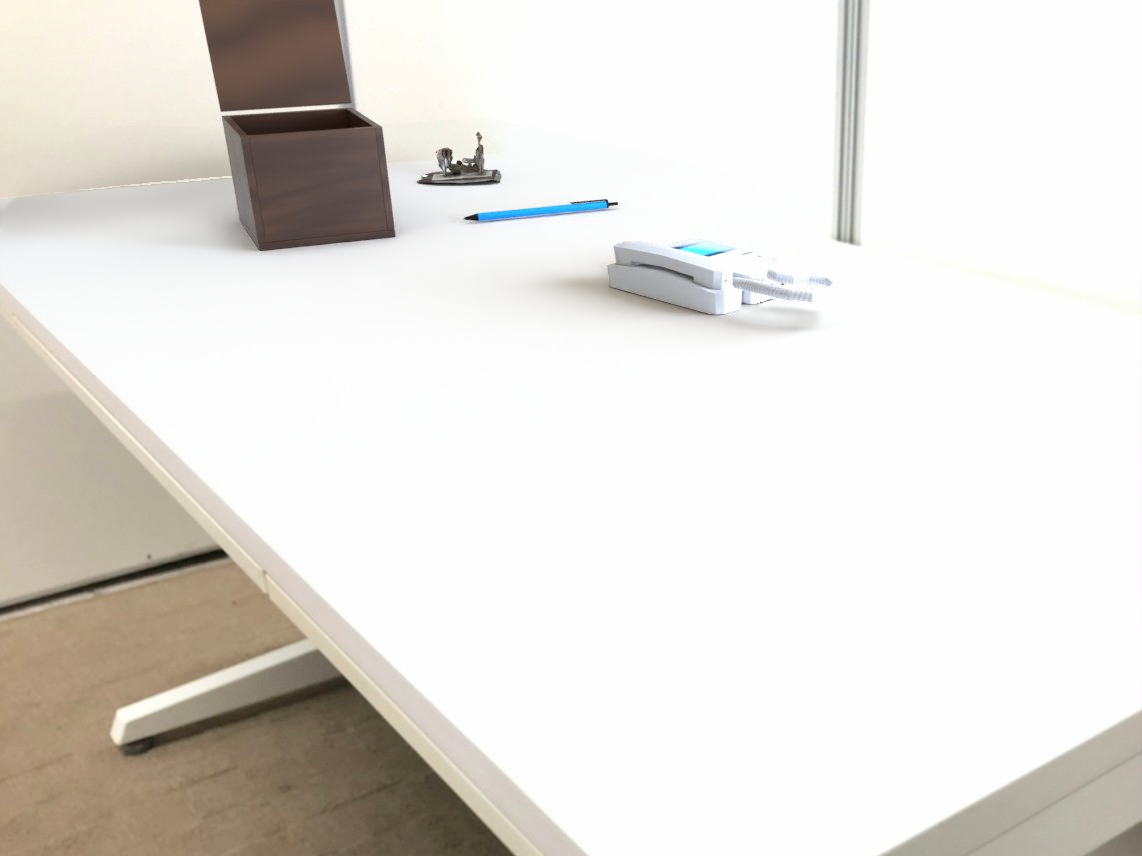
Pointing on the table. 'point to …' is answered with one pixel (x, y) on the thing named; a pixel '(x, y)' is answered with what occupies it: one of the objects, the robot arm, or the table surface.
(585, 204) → the pen
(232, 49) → the box lid
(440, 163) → the pewter figure scene
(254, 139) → the box
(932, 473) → the table surface
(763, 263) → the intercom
